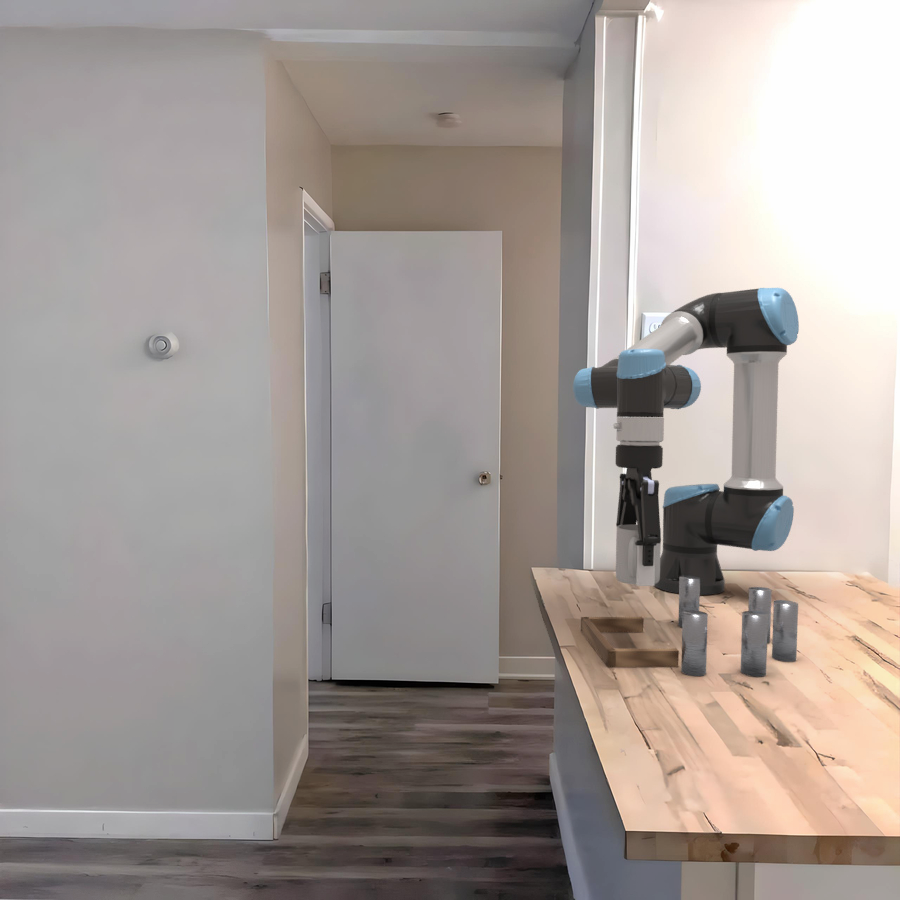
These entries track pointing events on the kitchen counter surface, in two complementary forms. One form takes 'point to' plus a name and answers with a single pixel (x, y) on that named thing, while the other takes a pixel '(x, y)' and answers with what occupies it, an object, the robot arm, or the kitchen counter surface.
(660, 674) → the kitchen counter surface
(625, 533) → the cup
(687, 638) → the spacers
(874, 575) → the kitchen counter surface
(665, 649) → the bay
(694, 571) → the robot arm
